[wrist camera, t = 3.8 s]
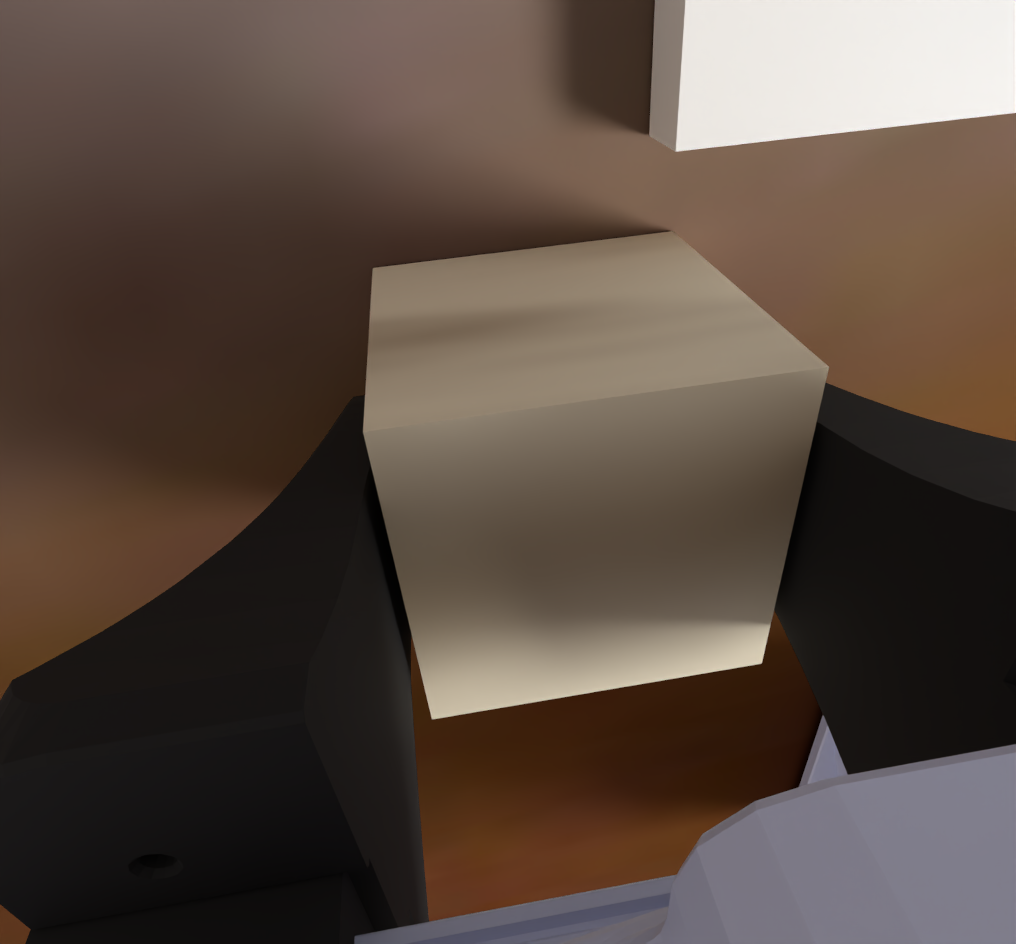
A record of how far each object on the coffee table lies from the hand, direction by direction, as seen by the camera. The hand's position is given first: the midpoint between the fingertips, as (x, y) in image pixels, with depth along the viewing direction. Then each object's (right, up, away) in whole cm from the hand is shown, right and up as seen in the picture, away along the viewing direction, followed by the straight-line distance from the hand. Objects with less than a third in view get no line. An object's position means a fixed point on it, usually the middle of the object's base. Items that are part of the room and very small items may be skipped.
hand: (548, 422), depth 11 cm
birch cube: (0, +1, +1) cm, 1 cm away
